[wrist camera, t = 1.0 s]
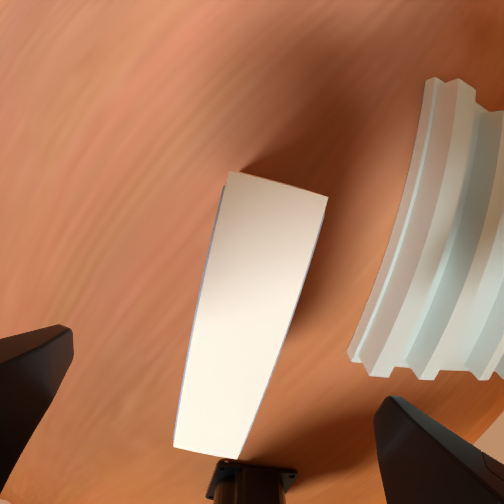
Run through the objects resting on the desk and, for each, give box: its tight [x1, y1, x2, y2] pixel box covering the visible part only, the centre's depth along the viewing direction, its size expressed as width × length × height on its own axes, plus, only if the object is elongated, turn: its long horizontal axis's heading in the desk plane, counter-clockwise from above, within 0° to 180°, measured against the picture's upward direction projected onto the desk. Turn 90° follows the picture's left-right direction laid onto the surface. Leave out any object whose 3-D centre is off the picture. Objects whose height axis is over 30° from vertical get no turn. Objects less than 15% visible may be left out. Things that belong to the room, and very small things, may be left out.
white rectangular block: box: [173, 171, 328, 459], centre depth 12 cm, size 10×3×7 cm, turn 166°
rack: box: [347, 77, 504, 380], centre depth 13 cm, size 16×14×3 cm
